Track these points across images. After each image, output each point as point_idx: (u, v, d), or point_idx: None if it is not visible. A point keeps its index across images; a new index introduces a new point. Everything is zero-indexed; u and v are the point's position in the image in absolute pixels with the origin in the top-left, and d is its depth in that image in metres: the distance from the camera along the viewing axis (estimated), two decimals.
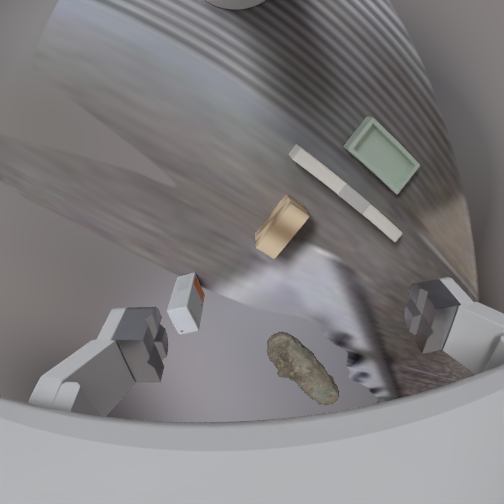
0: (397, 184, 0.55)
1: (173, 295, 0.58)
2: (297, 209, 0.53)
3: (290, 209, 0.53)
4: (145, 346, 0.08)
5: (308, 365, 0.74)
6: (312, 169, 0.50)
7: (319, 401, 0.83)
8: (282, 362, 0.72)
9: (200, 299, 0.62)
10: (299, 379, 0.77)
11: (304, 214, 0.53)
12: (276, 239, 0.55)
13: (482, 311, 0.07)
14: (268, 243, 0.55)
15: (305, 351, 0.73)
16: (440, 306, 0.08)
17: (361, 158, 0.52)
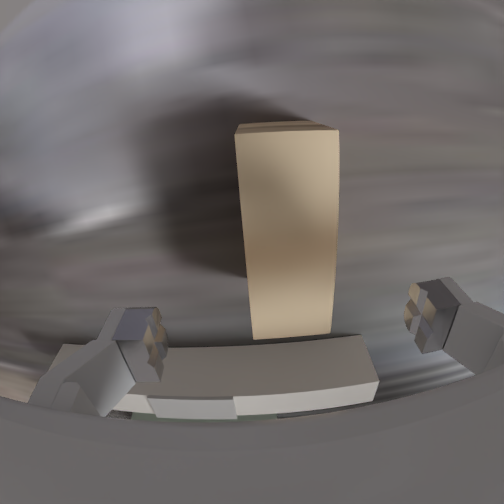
0: None
1: None
2: (302, 332, 0.16)
3: (322, 319, 0.15)
4: (145, 346, 0.08)
5: None
6: (327, 394, 0.19)
7: None
8: None
9: None
10: None
11: (272, 335, 0.16)
12: (293, 210, 0.13)
13: (482, 311, 0.07)
14: (308, 178, 0.12)
15: None
16: (440, 306, 0.08)
17: None
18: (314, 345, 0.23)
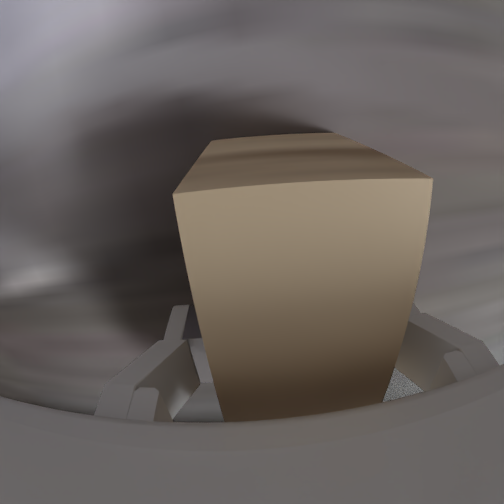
0: None
1: None
2: None
3: None
4: None
5: None
6: None
7: None
8: None
9: None
10: None
11: None
12: (315, 349, 0.06)
13: (429, 323, 0.07)
14: (355, 289, 0.05)
15: None
16: None
17: None
18: None
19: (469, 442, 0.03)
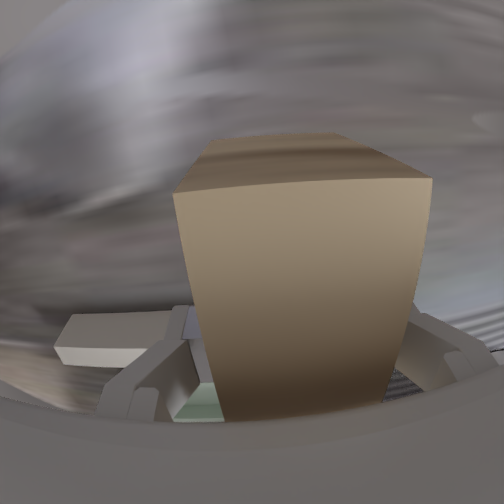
0: None
1: None
2: None
3: None
4: None
5: None
6: None
7: None
8: None
9: None
10: None
11: None
12: (315, 348, 0.06)
13: (429, 323, 0.07)
14: (354, 288, 0.05)
15: None
16: None
17: None
18: None
19: (469, 442, 0.03)
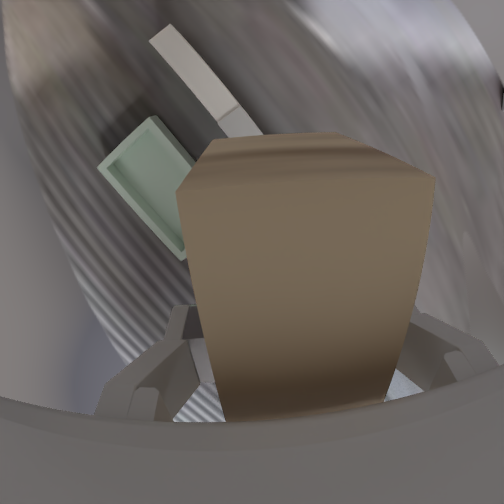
0: (144, 132, 0.28)
1: None
2: None
3: None
4: None
5: None
6: None
7: None
8: None
9: None
10: None
11: None
12: (317, 348, 0.06)
13: (429, 323, 0.07)
14: (357, 288, 0.05)
15: None
16: None
17: None
18: None
19: (469, 442, 0.03)
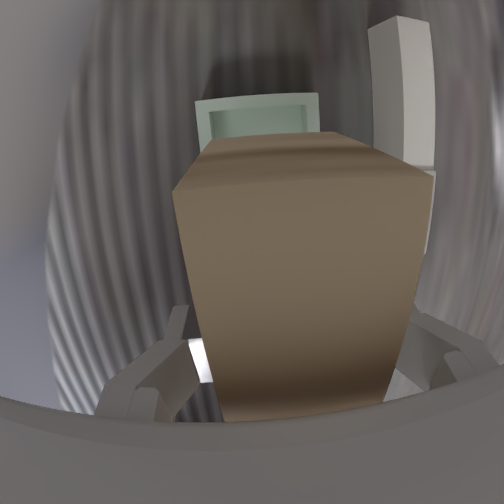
0: None
1: None
2: None
3: None
4: None
5: None
6: None
7: None
8: None
9: None
10: None
11: None
12: (315, 348, 0.06)
13: (429, 323, 0.07)
14: (355, 287, 0.05)
15: None
16: None
17: None
18: None
19: (469, 442, 0.03)
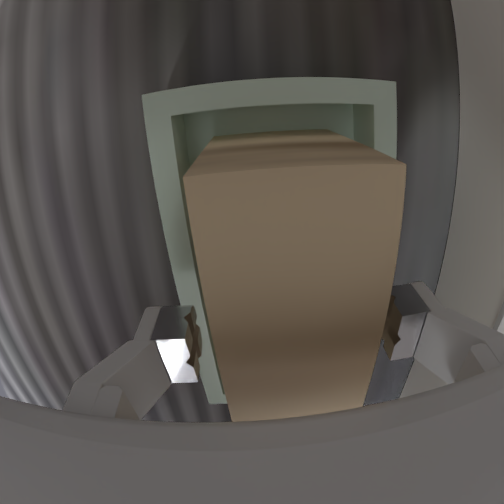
0: None
1: None
2: None
3: None
4: (186, 345, 0.08)
5: None
6: None
7: None
8: None
9: None
10: None
11: None
12: (307, 318, 0.07)
13: (453, 318, 0.07)
14: (340, 262, 0.06)
15: None
16: (406, 312, 0.08)
17: None
18: None
19: (469, 442, 0.03)
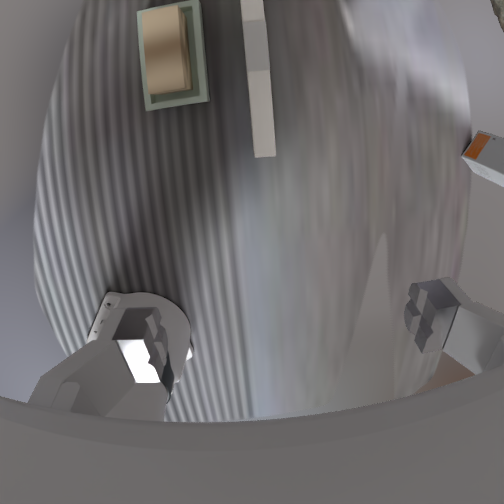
0: (186, 8, 0.28)
1: (498, 183, 0.34)
2: (170, 88, 0.29)
3: (179, 79, 0.29)
4: (145, 346, 0.08)
5: None
6: (268, 124, 0.33)
7: None
8: None
9: (489, 142, 0.34)
10: None
11: (156, 90, 0.29)
12: (161, 33, 0.26)
13: (482, 311, 0.07)
14: (167, 21, 0.25)
15: (498, 0, 0.24)
16: (440, 306, 0.08)
17: (201, 76, 0.32)
18: None
19: (469, 442, 0.03)
